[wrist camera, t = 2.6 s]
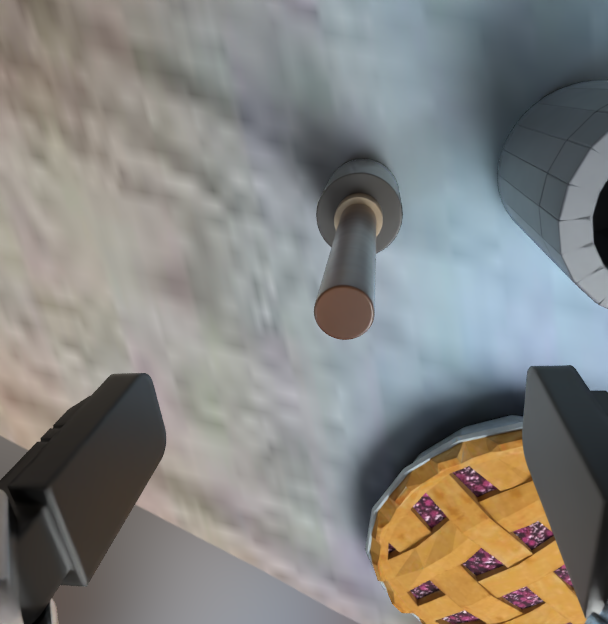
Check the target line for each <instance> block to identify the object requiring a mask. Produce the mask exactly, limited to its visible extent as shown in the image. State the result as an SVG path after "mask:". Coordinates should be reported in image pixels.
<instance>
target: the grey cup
mask: <svg viewBox="0 0 608 624" xmlns="http://www.w3.org/2000/svg"><path fill="white" fill-rule="evenodd" d="M497 174H498V188H499V193H500V197H501V200H502V202H503V204H504V207H505V209H506V210H507V212H508V213H509V215H510V216H511V218H512V220H513V221H514V222H515V223H516V224H517V225H518V226H519V227H520V228H521V229H522V230H523V231H524V232H525V233H526V234H527V235H528V236H529V237H530V238H531V239H532V240H533V241H534V242H535V243H536V244H537V245H538V246H539V247H540V248H541V249H542V250H543V252H544V253H545V254H546V255H547V256H548V257H549V258H550V259H551V260H552V261H553V262H554V263H555V264H556V265H557V266H558V267H559V268H560V269H561V270H562V271H563V272H564V273H565V274H566V275H567V276H568V277H569V278H570V279H571V280H572V281H573V282H574V283H575V284H576V285H577V286H578V287H579V288H580V289H581V290H582V291H583V292H584V293H586V294H587V295H588V296H589V297H590V298H591V299H592V300H593V301H594V302H595V303H597V304H598V305H600V306H602V307H605V308H607V309H608V80H593V81H587V82H582V83H576V84H573V85H570V86H566V87H564V88H561V89H559V90H557V91H555V92H553V93H551V94H549V95H548V96H546V97H544V98H543V99H541V100H540V101H539V102H537V103H536V104H535V105H533V106H532V107H531V108H530V109H529V110H528V111H527V112H526V113H525V114H524V115H523V116H522V117H521V118H520V120H519V121H518V122H517V123H516V125H515V126H514V128H513V129H512V131H511V132H510V134H509V136H508V138H507V140H506V142H505V144H504V146H503V149H502V152H501V155H500V159H499V164H498V173H497Z"/></svg>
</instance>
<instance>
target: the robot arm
mask: <svg viewBox="0 0 608 624" xmlns="http://www.w3.org/2000/svg"><path fill="white" fill-rule="evenodd" d="M522 442H523V451H524V456H525V460H526V463H527V466H528V469H529V472H530V474H531V477H532V479H533V482H534V485H535V487H536V490H537V493H538V495H539V498H540V501H541V503H542V506H543V508H544V511H545V514H546V516H547V519H548V522H549V524H550V527H551V530H552V532H553V535H554V537H555V540H556V543H557V545H558V548H559V551H560V553H561V556H562V559H563V561H564V564H565V566H566V569H567V572H568V574H569V577H570V580H571V582H572V585H573V587H574V590H575V593H576V595H577V598H578V601H579V603H580V606H581V609H582V611H583V614H584V616H585V619H587V620H586V622H585V623H584V624H608V392H606V391H590V390H589V388H588V387H587V385H586V384H585V382H584V381H583V379H582V378H581V376H580V375H579V374H578V372H577V371H576V369H575V368H574V367H573V366H571V365H567V366H531V367H530V368H529V369H528V372H527V379H526V391H525V403H524V416H523V428H522ZM165 446H166V431H165V426H164V423H163V419H162V415H161V411H160V407H159V404H158V400H157V396H156V392H155V389H154V385H153V382H152V379H151V377H150V376H149V375H148V374H146V373H127V374H112V375H110V376H109V377H108V378H107V379H106V380H105V381H104V383H103V384H102V385H101V386H100V387H99V388H98V389H97V390H96V391H95V392H94V393H93V394H92V395H91V396H89V397H87V398H86V399H84V400H83V401H81V402H80V403H78V404H76V405H75V406H73V407H72V408H70V409H69V410H67V412H66V413H65V414H64V415H63V416H62V417H61V418H60V419H59V420H58V421H57V422H56V423H55V424H54V425H53V428H50V429H49V430H48V431H47V432H46V433H45V434H44V435H43V436H42V437H41V441H40V442H37V443H36V444H35V445H34V446H33V447H32V448H31V449H30V450H29V451H28V452H27V453H26V454H25V455H24V456H23V457H22V458H21V459H20V461H19V462H17V464H16V465H15V466H14V467H13V468H12V469H11V470H10V471H9V472H8V473H7V474H6V475H5V476H4V477H3V478H2V479H1V480H0V624H58V615H57V608H56V604H55V602H54V600H53V598H52V597H53V595H54V593H55V592H56V591H57V589H58V588H59V586H60V585H70V586H87V585H88V583H89V582H90V580H91V578H92V576H93V575H94V573H95V571H96V570H97V568H98V566H99V565H100V563H101V561H102V559H103V558H104V556H105V554H106V553H107V551H108V549H109V547H110V546H111V544H112V542H113V541H114V539H115V537H116V536H117V534H118V532H119V530H120V529H121V527H122V525H123V524H124V522H125V520H126V519H127V517H128V515H129V513H130V512H131V510H132V508H133V507H134V505H135V503H136V502H137V500H138V498H139V496H140V495H141V493H142V491H143V490H144V488H145V486H146V485H147V483H148V481H149V479H150V478H151V476H152V474H153V473H154V471H155V469H156V468H157V466H158V464H159V462H160V461H161V459H162V457H163V454H164V451H165Z"/></svg>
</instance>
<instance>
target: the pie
mask: <svg viewBox="0 0 608 624" xmlns="http://www.w3.org/2000/svg"><path fill="white" fill-rule="evenodd" d="M522 428H523V416H516V415H510V416H506V417H502V418H498V419H494V420H490V421H486V422H482V423H478V424H474V425H470V426H466V427H463V428H462V429H460V430H458V431H457V432H455V433H453V434H452V435H450V436H448V437H447V438H445V439H443V440H442V441H440V442H438V443H437V444H435V445H433V446H432V447H430V448H429V449H427V450H425V451H424V452H422V453H420V454H419V456H418V457H417V458H416V460H415V461H414V462H413V463H412V464H410V465H409V466H407V467H405V468H404V469H403V470H402V471H401V472H400V474H399V475H398V476H397V477H396V479H395V480H394V481H393V483H392V484H391V485H390V486H389V488H388V489H387V490H386V491H385V493H384V494H383V495H382V497H381V498H380V499H379V500H378V502H377V503H376V504H375V505H374V507H373V508H372V512H371V517H370V523H369V529H368V535H367V541H366V547H365V551H366V553H367V555H368V557H369V560H370V562H371V564H372V566H373V568H374V570H375V573H376V576H377V579H378V581H380V583H381V585H382V587H383V589H384V590H385V591H386V592H387V593H388V595H389V597H390V600H391V602H392V604H393V605H394V606H395V607H396V608H397V609H398V610H399V611H400V612H401V613H411V614H412V615H414V616H415V617H416V618H417V619H418V620H419V621H421V622H422V624H584V623H585V622H586V620H587V619H585V616H584V614H583V611H582V609H581V606H580V603H579V601H578V598H577V595H576V593H575V590H574V587H573V585H572V582H571V580H570V577H569V574H568V572H567V569H566V566H565V564H564V561H563V559H562V556H561V553H560V551H559V548H558V545H557V543H556V540H555V537H554V535H553V532H552V530H551V527H550V524H549V522H548V519H547V516H546V514H545V511H544V508H543V506H542V503H541V501H540V498H539V495H538V493H537V490H536V487H535V485H534V482H533V479H532V477H531V474H530V472H529V469H528V466H527V463H526V460H525V456H524V451H523V442H522Z"/></svg>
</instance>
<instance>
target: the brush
mask: <svg viewBox="0 0 608 624" xmlns="http://www.w3.org/2000/svg"><path fill="white" fill-rule="evenodd" d="M402 215H403V212H402V204H401V199H400V193H399V188H398V184H397V181H396V179H395V177H394V175H393V174H392V173H391V171H390V170H389V169H388V168H386V167H385V166H384V165H382V164H381V163H379V162H376V161H374V160H369V159H357V160H353V161H350V162H347V163H345V164H344V165H342V166H341V167H339V168H338V169H337V170H336V171H335V172H334V173H333V175H332V176H331V178H330V180H329V182H328V184H327V186H326V188H325V189H324V191H323V193H322V195H321V197H320V200H319V202H318V206H317V213H316V216H317V225H318V228H319V231H320V233H321V235H322V237H323V238H324V240H325V241H326V242H327V243H328V244H329V245H330V246H331V247H332V248H331V251H330V255H329V258H328V261H327V265H326V268H325V272H324V275H323V279H322V282H321V285H320V289H319V292H318V296H317V299H316V303H315V306H314V316H315V319H316V322H317V324H318V326H319V327H320V328H321V329H322V330H323V331H324V332H325V333H326V334H328V335H329V336H331V337H334V338H337V339H342V340H347V339H353V338H356V337H359V336H361V335H362V334H364V333H365V332H366V331H367V330H368V329H369V328H370V326H371V325H372V322H373V320H374V313H375V268H376V253H378V252H380V251H382V250H384V249H385V248H386V247H388V246H389V245H390V244H391V243H392V241H393V240H394V239H395V237H396V236H397V234H398V232H399V230H400V227H401V224H402Z"/></svg>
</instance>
